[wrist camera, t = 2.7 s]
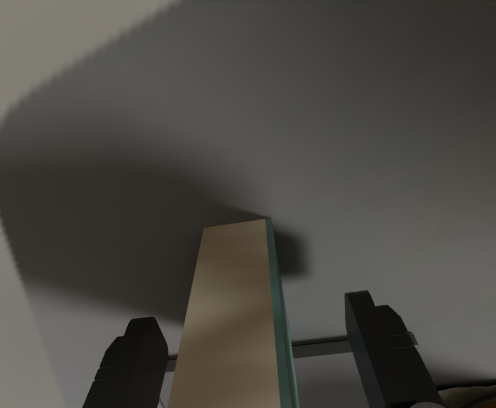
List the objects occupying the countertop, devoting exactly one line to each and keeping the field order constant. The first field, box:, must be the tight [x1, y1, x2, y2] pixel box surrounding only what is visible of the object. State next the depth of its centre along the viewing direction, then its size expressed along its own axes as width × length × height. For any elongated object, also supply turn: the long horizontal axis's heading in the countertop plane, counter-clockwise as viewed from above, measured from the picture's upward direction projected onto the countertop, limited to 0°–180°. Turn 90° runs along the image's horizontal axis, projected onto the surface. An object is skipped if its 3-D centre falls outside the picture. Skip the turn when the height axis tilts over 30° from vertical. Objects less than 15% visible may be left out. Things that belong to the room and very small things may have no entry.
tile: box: [167, 218, 300, 408], centre depth 10 cm, size 2×6×8 cm, turn 10°
